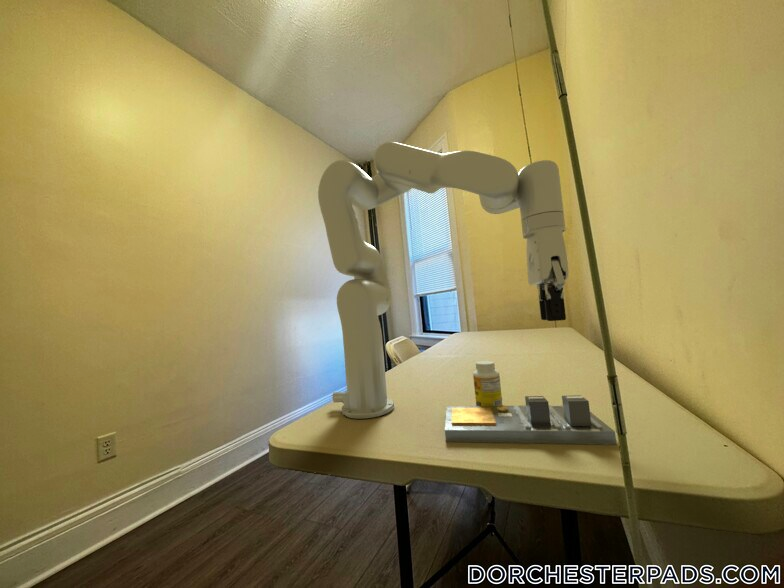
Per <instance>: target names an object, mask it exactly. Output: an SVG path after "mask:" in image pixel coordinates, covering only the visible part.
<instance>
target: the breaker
mask: <svg viewBox="0 0 784 588" xmlns="http://www.w3.org/2000/svg"><path fill="white" fill-rule="evenodd" d="M561 400H562V405H563V411H564V419H565V420H566V421H567V422H568V423H569V424H570V425H571V426H591V417H590V412H591V411H590V402H589V400H588V399H586V397H584V396H583V395H581V394H578V395H574V394H573V395H561Z"/></svg>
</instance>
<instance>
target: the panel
mask: <svg viewBox="0 0 784 588" xmlns="http://www.w3.org/2000/svg"><path fill="white" fill-rule="evenodd" d="M524 398H525V399H524V400H525V401H524V402H525V405H503V404H502V405H499V406H476V405H456V406H455V405H451V406H450V405H447V406H446V411H445V421H444V423H445V425H444V435H445V443H487V444H488V443H495V444H501V443H502V444H549V445H550V444H556V445H559V444H561V445H611V446H612V445H614V446H615V445H617V438H616V431H615V430H614V429H612V428H611V427H610V426H609V425H607V424H606V423H605V422H604V421H602V420H601V419H600V418H599V417H597V416H596V415H595V414H593V413H592V412H591V411H590V417H591V426H571V425H570V424H569V423H568V422H567V421H566V420H565V419H564V411H563V404H557V405H556V404H553V405H549V401H548V400H547V399H546V397H545V396H543V395H540V396H539V395H533V396H532V395H529V396H528V395H527V396H526V395H525V396H524Z"/></svg>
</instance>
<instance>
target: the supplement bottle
mask: <svg viewBox="0 0 784 588" xmlns="http://www.w3.org/2000/svg"><path fill="white" fill-rule="evenodd" d="M475 368H476V370H474V371H473V373H472V374H473V375H472V377H473V388H474V397H475V406H499V405H503V397H502V387H501V379H500V378H501V377H500V372H499V371H498V370H497V369H496V366H495V362H494V361H491V360H479V361H476V362H475Z"/></svg>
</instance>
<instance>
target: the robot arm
mask: <svg viewBox="0 0 784 588" xmlns="http://www.w3.org/2000/svg"><path fill="white" fill-rule="evenodd" d="M373 165H374V169H375V170H376V173H377V174H375V175H373V176H371V177H370V176H369V175H368V174H367V173H366V172H365V171H364V170H363V169H361V167H359V166H358V165H356V164H355V163H353V162H351V161H348V160H343V159H341V160H340V159H339V160H335V161H333V162H332V163H330V164H329V165H328V167H326V169H325V170H324V171H323V173H322V175H321V178H320V181H319V184H318V190H317V191H318V192H317V193H318V194H317V195H318V196H317V197H318V204H319V208H320V212H321V216H322V219H323V223H324V226H325V231H326V237H327V241H328V245H329V250H330V254H331V258H332V263H333V266H334V268H335V270H336V271H338V273H340V274H342V275H346V276H349V277H353V279H349V280H348V281H345V282H344V283H343V284H342V285H341V286H340V288H339V289H338V291H337V294H336V307H337V312H338V315H339V320H340V325H341V333H342V343H343V344H342V345H343V354H344V355H343V356H344V368H345V371H344V372H345V381H346V382H345V383H346V390H345V391H344V392H341V391H339V392H338V391H337V392H333V393H332V395H331V398H332V401H333V403H342V404H343V405H342V406H341V414H342V415H343V416H344V415H345V416H344V417H346V416H347V418H350V419H360V420H361V419H372V418H376V417H377V418H378V417H380V416H384V415H386V414H388V413H390V412H391V411H393V410H394V408H395V403H394V400H393V399H391V398H389V397H388V391H387V381H386V380H387V379H386V367H385V355H384V354H385V353H384V344H383V342H384V341H383V333H382V327H381V322H380V320H379V316H381V315H383V314H385V313H386V312H387V311H388V310H389V309H390V306H391V304H392V294H391V293H392V292H391V288H390V284H389V280H388V276H387V271H386V269H385V264H384V261H383V257H382V255H381V254H380V251H379V250H378V249H377V248H375V246H373V245H372V244H369V243H368V242H366V241H365V240H364V237H363V234H362V231H361V226H360V222H359V218H358V217H357V214H356V211H355V209H354V207H355V208H357V209H359V210H361V211H368V210H369V211H370V210H372V209H375V208H378V207H380V206H381V205H385V203H387V202H389V201H392V200H393V199H396V198H398V197H399V196H400V197H401V195H403V194H406V193H407V192H409V191H410V190H411V189H414V190H418V191H421V192H423V193H426V194H435V193H436V192H438V191H439V190H440V189H445V188H449V189H451V188H452V189H457V190H461V191H465V192H469V193H471V194H475V195H478V197H479V203H480V205H481V207H482V209H483V210H484V211H485V212H486V213H488V214H490V215H491V214H492V215H501V214H504V213H507V212H511V211H513V210H516V209H519V212H520V221H521V233H522V238H523V239H524V240H525V239H526V266H527V282H528V285H530V286H536V288H537V290H538V291H537V292H538V303H539V312H540V313H539V314H540V319H541V321H547V322H558V321H565V320H566V319H567V315H566V306H565V305H566V304H565V299H564V298H565V294H564V293H565V292H564V286H565V284H566V280H567V279H568V278H569V264H568V263H569V262H568V255H567V248H566V243H565V239H564V234H563V233H565V232H566V221H565V213H564V203H563V195H562V186H561V178H560V177H561V176H560V170H559V165H558V164H557V163H556V162H555V161H552V160H548V159H546V160H539V161H537V160H536V161H535V162H532V163H529V164H526V165H525V166H524V167H522V168H521V169H520V170H519V172H518V170H517V168H516V167H515V165H513V164H512V162H510V161H508V160H506V159H505V158H502V157H498V156H496V155H492V154H489V153H488V154H486V153H483V152H480V151H479V152H478V151H474V150H458V151H450V152H446V153H440V152H436V151H431V150H428V149H422V148H419V147H415V146H412V145H407V144H404V143H399V142H395V141H394V142H393V141H387V142H383V143H382V144H380V145H379V146H378V147H377V148H376V150H375V152H374V155H373ZM353 206H354V207H353Z"/></svg>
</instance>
